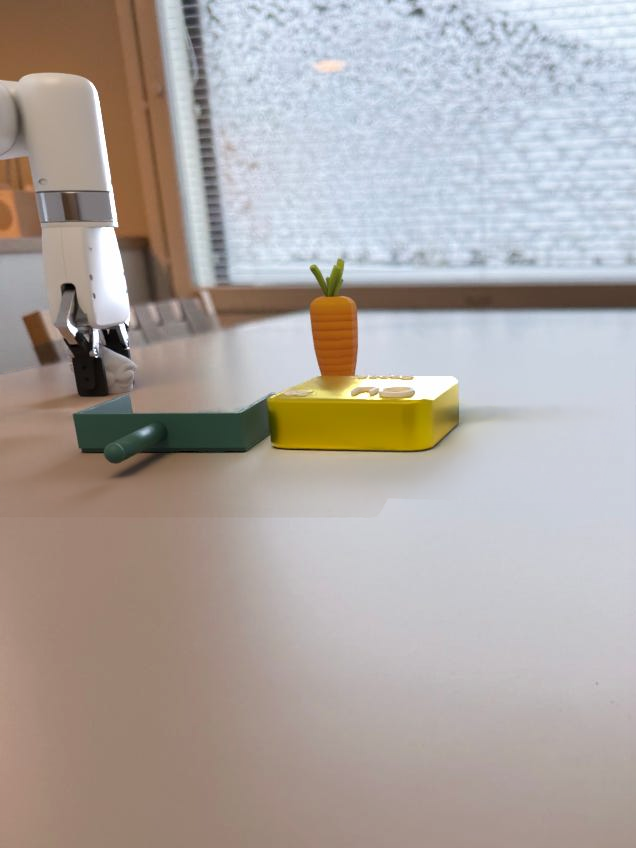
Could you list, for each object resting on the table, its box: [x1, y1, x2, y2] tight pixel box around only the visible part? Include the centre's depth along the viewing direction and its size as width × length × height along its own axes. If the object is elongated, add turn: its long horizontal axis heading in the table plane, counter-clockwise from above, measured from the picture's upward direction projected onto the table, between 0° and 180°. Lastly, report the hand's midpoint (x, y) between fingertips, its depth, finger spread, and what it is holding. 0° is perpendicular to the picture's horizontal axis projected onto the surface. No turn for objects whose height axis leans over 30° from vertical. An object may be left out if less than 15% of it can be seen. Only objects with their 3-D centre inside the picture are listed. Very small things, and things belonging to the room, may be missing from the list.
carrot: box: [309, 258, 359, 376], centre depth 102 cm, size 5×5×15 cm
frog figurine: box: [66, 342, 138, 395], centre depth 105 cm, size 6×7×7 cm
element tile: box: [267, 374, 460, 452], centre depth 88 cm, size 15×15×5 cm
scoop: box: [72, 392, 276, 465], centre depth 83 cm, size 21×15×3 cm
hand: (107, 389), depth 105 cm, fingers closed on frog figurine, 6 cm apart
